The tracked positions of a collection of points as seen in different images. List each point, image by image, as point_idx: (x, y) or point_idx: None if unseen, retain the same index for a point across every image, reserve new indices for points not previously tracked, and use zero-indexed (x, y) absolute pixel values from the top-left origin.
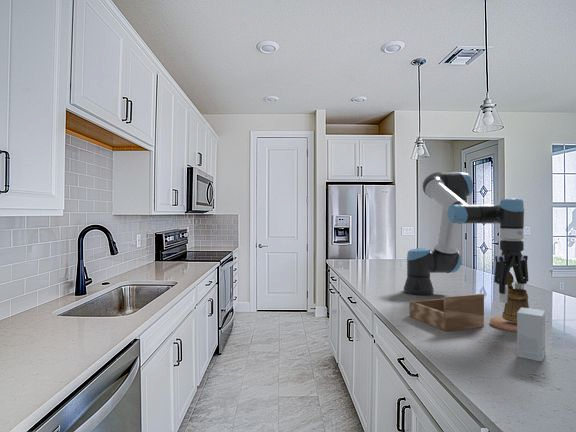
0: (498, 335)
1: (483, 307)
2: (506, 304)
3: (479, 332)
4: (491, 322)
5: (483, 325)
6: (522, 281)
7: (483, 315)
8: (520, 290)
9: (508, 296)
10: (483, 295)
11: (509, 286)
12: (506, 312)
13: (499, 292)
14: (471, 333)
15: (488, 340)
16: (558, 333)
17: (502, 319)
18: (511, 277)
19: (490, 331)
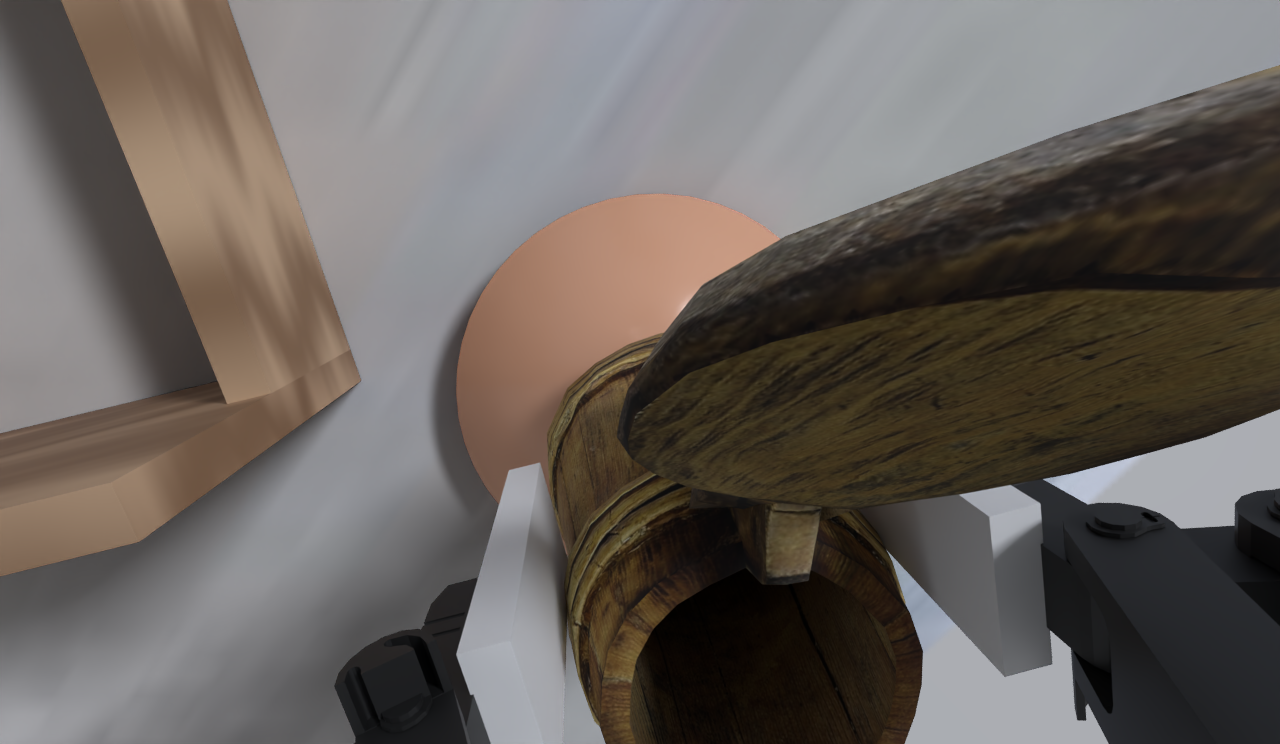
0: (352, 619)
1: (260, 449)
2: (569, 521)
3: (219, 541)
4: (462, 351)
5: (352, 385)
6: (1095, 703)
7: (309, 415)
8: (877, 622)
9: (569, 635)
10: (144, 531)
11: (758, 545)
12: (559, 493)
13: (440, 598)
14: (125, 563)
15: (193, 722)
16: None
17: (623, 304)
18: (1106, 441)
19: (342, 520)
